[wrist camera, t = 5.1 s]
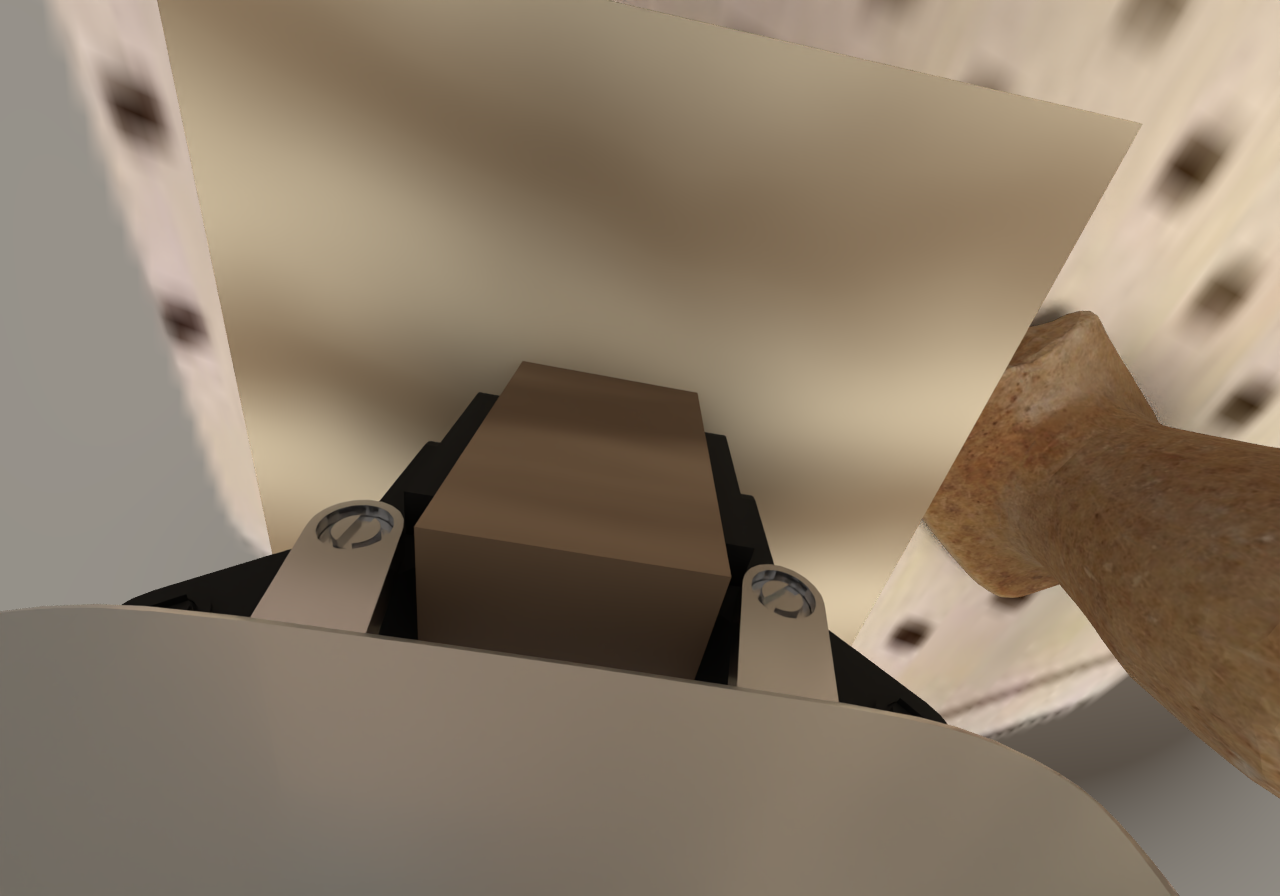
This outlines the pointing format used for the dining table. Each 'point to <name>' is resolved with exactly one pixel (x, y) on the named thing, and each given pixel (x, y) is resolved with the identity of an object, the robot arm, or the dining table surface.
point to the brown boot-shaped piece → (1129, 533)
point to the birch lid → (614, 292)
